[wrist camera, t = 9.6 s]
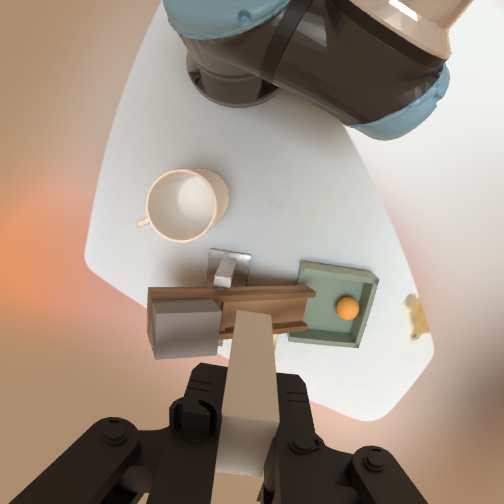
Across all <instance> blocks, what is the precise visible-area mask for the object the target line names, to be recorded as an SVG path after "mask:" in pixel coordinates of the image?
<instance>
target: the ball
mask: <svg viewBox="0 0 504 504" xmlns="http://www.w3.org/2000/svg"><path fill="white" fill-rule="evenodd" d="M336 312H337V314H338V316H339V317H340V318H341V319H343V320H352V319H354V318H355V317H356V316H357V314H358V312H359V304H358V302H357V301H356V300H355V299H354V298H351V297H344V298H342V299H341V300H340V301H339V302H338V303H337V306H336Z"/></svg>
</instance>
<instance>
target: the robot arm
mask: <svg viewBox="0 0 504 504" xmlns="http://www.w3.org/2000/svg"><path fill="white" fill-rule="evenodd" d="M472 1H473V0H163V4H164V7H165V10H166V12H167V15H168V21H169V23H170V25H171V26H172V28H174V30H175V31H177V33H178V34H179V36H180V38H181V39H182V41H183V43H184V44H185V46H186V48H187V49H188V52H187V70H188V73H189V76H190V78H191V80H192V82H193V84H194V85H195V86H196V88H197V89H198V90H199V91H200V93H201V94H203V95H204V96H205V97H206V98H208V99H209V100H211V101H213V102H215V103H217V104H220V105H223V106H227V107H235V108H241V107H250V106H255V105H258V104H261V103H263V102H265V101H267V100H269V99H271V98H272V97H274V96H275V95H276V94H277V93H278V92H279V91H280V90H281V89H284V90H286V91H288V92H290V93H292V94H294V95H296V96H298V97H300V98H302V99H304V100H305V101H307V102H309V103H311V104H313V105H315V106H317V107H318V108H320V109H322V110H324V111H326V112H327V113H329V114H331V115H333V116H334V117H336V118H338V119H339V120H340V122H341V123H342V124H344V125H345V126H349V127H351V128H355V129H357V130H359V131H360V132H362V133H364V134H365V135H367V136H369V137H371V138H373V139H377V140H384V141H386V140H392V139H396V138H399V137H401V136H403V135H405V134H407V133H408V132H410V131H411V130H413V129H414V128H416V127H417V126H418V125H420V124H421V123H422V122H423V121H424V120H425V119H426V118H427V117H428V116H429V115H430V114H431V113H432V112H433V111H434V109H435V108H436V102H437V101H439V100H440V99H442V98H443V96H444V95H445V93H446V90H447V88H448V85H449V80H450V76H449V70H448V68H447V67H446V64H445V62H446V61H447V59H448V58H449V57H450V55H451V48H450V42H449V37H448V32H449V29H450V27H451V26H452V25H453V24H454V23H455V22H456V21H457V19H458V18H459V17H460V15H462V13H463V12H464V11H465V10H466V9H467V8H468V6H469V5H470V4H471V3H472ZM263 470H264V482H263V484H262V487H261V490H260V492H259V495H258V498H257V501H259V502H260V500H261V504H428V503H427V501H426V500H425V499H424V498H423V496H422V495H421V493H420V492H419V491H418V489H417V488H416V486H415V485H414V484H413V482H412V481H411V480H410V478H409V477H408V476H407V474H406V473H405V472H404V470H403V469H402V468H401V466H400V465H399V463H398V462H397V461H396V459H395V458H394V457H393V455H392V454H390V453H389V452H388V451H387V450H385V449H383V448H381V447H377V446H365V447H362V448H360V449H358V450H357V451H356V452H355V453H354V454H350V453H345V452H341V451H337V450H334V449H331V448H329V447H327V446H326V445H325V444H324V442H323V440H322V439H321V438H320V437H319V436H318V435H317V434H316V433H315V428H314V424H313V418H312V414H311V409H310V403H309V398H308V395H307V389H306V384H305V382H304V381H303V380H302V379H301V378H300V376H299V375H295V374H285V373H276V367H275V355H274V343H273V331H272V319H271V315H269V314H262V313H255V312H248V311H242V310H237V313H236V320H235V326H234V333H233V339H232V346H231V352H230V359H229V365H228V367H224V366H218V365H211V364H206V363H200V364H198V365H197V366H196V367H195V368H194V369H193V370H192V372H191V376H190V379H189V382H188V385H187V389H186V391H185V394H184V397H182V398H179V399H177V400H176V401H174V402H173V403H172V405H171V406H170V408H169V426H168V427H166V428H163V429H160V430H152V431H151V430H150V431H149V430H145V431H143V430H137V428H136V427H135V425H133V424H132V423H131V422H129V421H128V420H125V419H122V418H119V417H118V418H117V417H108V418H104V419H101V420H99V421H97V422H96V423H94V424H93V425H92V426H91V427H90V428H89V429H88V430H87V431H86V432H85V433H84V434H83V435H82V436H81V437H80V438H79V439H77V441H75V442H74V443H73V444H72V445H71V446H70V447H69V448H68V449H67V450H66V451H65V452H64V453H63V454H62V455H61V456H59V457H58V458H57V459H56V460H55V461H54V462H53V463H52V464H51V465H50V466H49V467H48V468H47V469H46V470H44V471H43V472H42V473H41V474H40V475H39V476H38V477H37V478H36V479H35V480H34V481H33V482H32V483H30V485H28V486H27V487H26V488H25V489H24V490H23V491H22V492H21V493H20V494H18V495H17V496H16V497H15V498H14V499H13V500H12V501H11V502H10V503H9V504H137V503H138V501H139V500H140V499H141V497H142V496H143V494H144V493H149V496H148V499H147V502H146V504H210V503H211V496H212V488H213V480H214V473H215V472H222V473H230V474H238V475H247V476H259V477H261V476H262V473H263Z"/></svg>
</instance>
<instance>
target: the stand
mask: <svg viewBox="0 0 504 504" xmlns="http://www.w3.org/2000/svg"><path fill="white" fill-rule="evenodd" d="M250 258H251V255H250V254H243V253H237V252H230V251H224V250H218V249H210V254H209V262H208V271H207V279H206V287H218V286H221V287H227V288H230V287H246V283H247V277H248V271H249V265H250ZM222 344H223V339H222V340H218V346H222Z"/></svg>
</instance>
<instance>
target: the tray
mask: <svg viewBox="0 0 504 504" xmlns="http://www.w3.org/2000/svg"><path fill="white" fill-rule="evenodd" d="M378 282H379V278H377V277H376V276H375V275H374V274H373V273H372V272H371V271H366V270H360V269H353V268H347V267H340V266H334V265H328V264H321V263H315V262H308V261H302V260H301V263H300V268H299V273H298V278H297V283H296V285H307V286H308V287H310V288H311V289H313V290H314V291H316V296H315V297H312V298H308V300H307V304H306V308H305V313H304V317H303V321H304V322H305V323H306V324H307V325H308V328H307V330H304V331H297V332H289V333H287V335H288V341H290V342H299V343H308V344H318V345H328V346H339V347H352V348H359V345H360V342H361V339H362V336H363V333H364V330H365V327H366V323H367V320H368V317H369V314H370V310H371V307H372V304H373V300H374V297H375V293H376V290H377V286H378ZM344 297H351V298H354V299H355V300H356V301H357V302H358V304H359V312H358V314H357V316H356V317H355V318H354V319H352V320H343V319H341V318H340V317H339V316H338V314H337V312H336V306H337V303H338V302H339V301H340V300H341V299H342V298H344Z"/></svg>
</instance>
